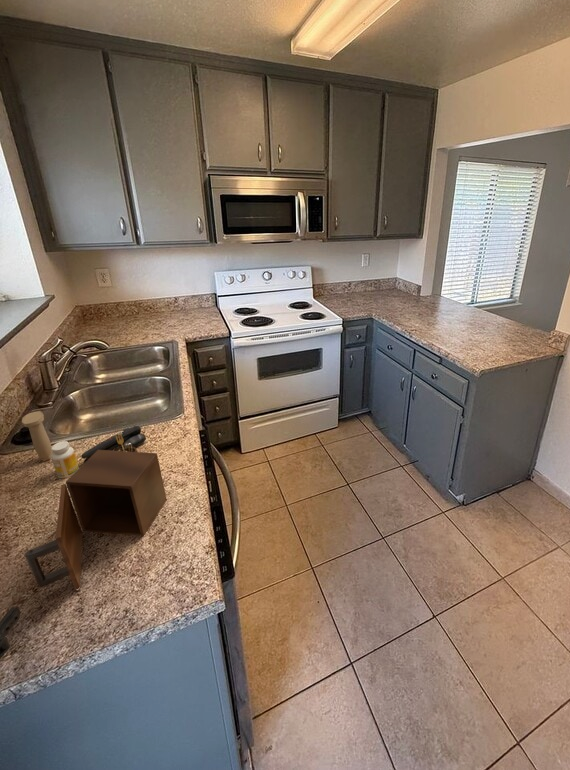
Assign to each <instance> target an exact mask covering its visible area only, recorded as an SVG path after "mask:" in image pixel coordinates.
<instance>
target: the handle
mask: <svg viewBox="0 0 570 770" xmlns="http://www.w3.org/2000/svg"><path fill="white" fill-rule="evenodd" d="M44 421H45V415H44V413H43V411H41V410H37V411H32V412H30V413H29V412H28V413H26V415H24V416H23V417H22V419H21V423H22V425H23V426H24V427H25V428H28V430H29V434H30V437H31V441H32V445H33V447H34V450H35V452H36V454H37V456H38V458H39V460H40V461H43V462H46V461H49V460H52V458H51V455H52V453H53V452H52V444H51V441H50V438H49V435H48V433H47V431H46V428H45V426H44V424H43V422H44Z"/></svg>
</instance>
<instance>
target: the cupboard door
mask: <svg viewBox="0 0 570 770" xmlns="http://www.w3.org/2000/svg"><path fill="white" fill-rule="evenodd" d="M56 551H60V554H61V556H62V560H63V562H64V565H65V566H64V567H61V568H59V569H56V570H54V571H51V572H49V573H47V574H44V571H43V569H42V566H41V564H40V562H39V560H38V559H39V558H41V557H44V556H46V555H50V554H52V553H55V552H56ZM82 556H83V531H82V528H81V525H80V522H79V519H78V517H77V514H76V511H75V508H74V505H73V502H72V499H71V496H70V493H69V490H68V488H67V484H66V483H63V484H61V486H60V494H59V502H58V512H57V522H56V532H55V539H54V540H52V541H49V542H47V543H44V544H42V545H38V546H36V547H34V548H31V549H28V550H26V552H25V553H24V557H25V559H26V562H27V565H28V566H29V569H30V571H31V573H32V576H33V577H34V580H35V582H36V584H37V587H38V588H43V587H46V586H48V585H51V584H53V583H55V582H58V581H60V580H63V579H64V578H67V577H70V580H71V582H72V585H73V588H74V590H75V589H78V588H79V587H80V576H81V577H82V563H81V561H82V559H83V557H82ZM82 562H83V561H82Z"/></svg>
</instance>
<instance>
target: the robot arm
mask: <svg viewBox="0 0 570 770" xmlns="http://www.w3.org/2000/svg"><path fill="white" fill-rule="evenodd" d="M20 619H21V610H20V607H19V606H15V605H14V606H11V607H10V609H9V610H8V611H7V612H6V614H5V615H4V616H3V617H2V618H1V620H0V660H1V659H2V658H3V657H4V655H5V654H6V653H7V652H8V651H9V649H10V648H11V643H10V641H9V640H8V638H7V635H8V634H9V632H11V630H12V629H13V627H14V626H15V625H16V624H17V622H18V621H19V620H20Z"/></svg>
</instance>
